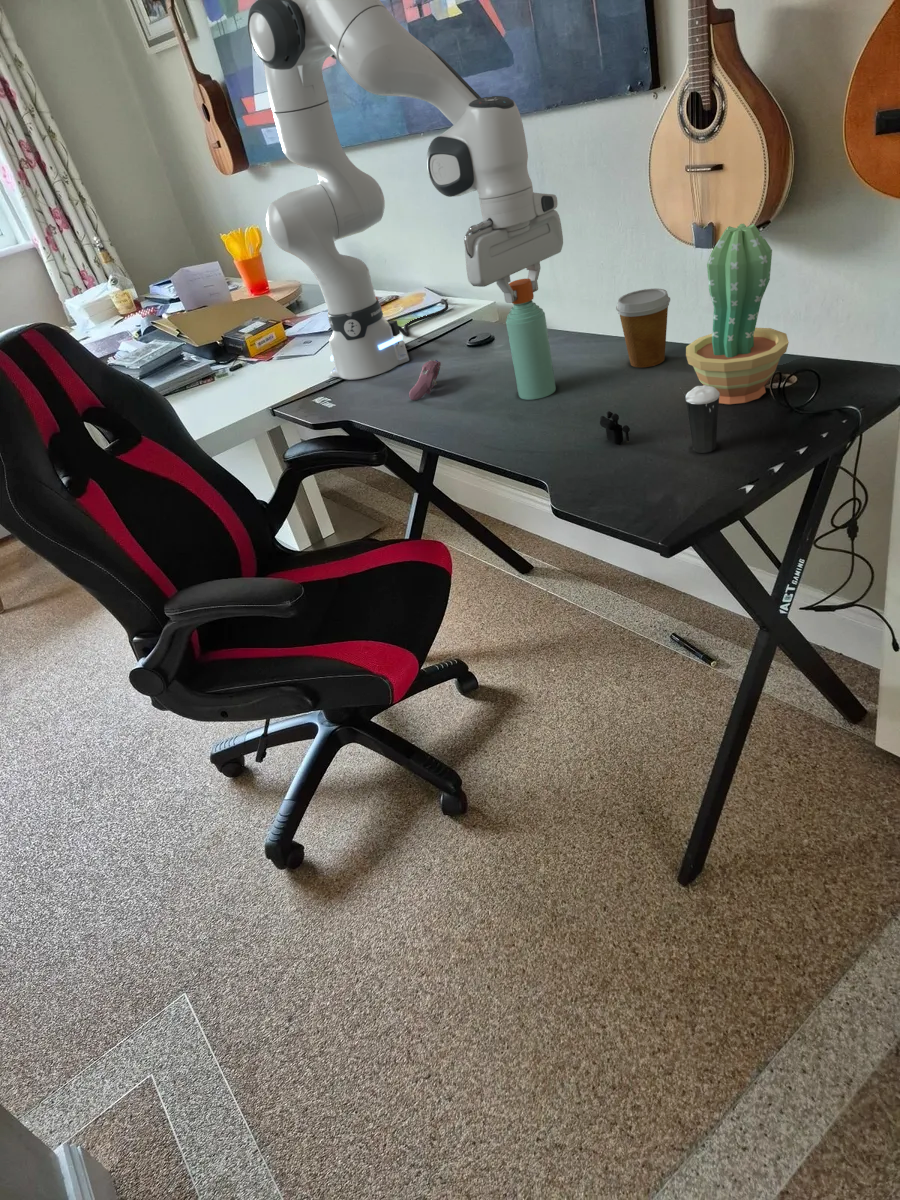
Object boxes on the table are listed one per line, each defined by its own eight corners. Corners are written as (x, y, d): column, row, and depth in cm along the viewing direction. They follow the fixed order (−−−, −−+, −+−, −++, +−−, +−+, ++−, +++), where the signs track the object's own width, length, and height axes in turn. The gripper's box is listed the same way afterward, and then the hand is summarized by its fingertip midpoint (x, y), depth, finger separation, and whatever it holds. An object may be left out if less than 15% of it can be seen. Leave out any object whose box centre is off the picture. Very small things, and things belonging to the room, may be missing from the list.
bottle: (513, 392, 148) (494, 287, 137) (547, 381, 149) (531, 276, 138) (526, 403, 142) (508, 294, 131) (561, 391, 143) (546, 282, 132)
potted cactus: (809, 384, 123) (817, 213, 109) (739, 420, 118) (738, 246, 104) (733, 368, 134) (731, 212, 121) (666, 400, 129) (656, 241, 116)
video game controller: (428, 407, 156) (436, 374, 151) (407, 400, 156) (414, 367, 151) (438, 388, 163) (446, 357, 159) (418, 381, 163) (425, 350, 159)
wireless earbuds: (633, 446, 118) (630, 415, 116) (620, 452, 118) (617, 421, 115) (605, 435, 124) (602, 405, 121) (593, 440, 123) (589, 410, 120)
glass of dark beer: (678, 447, 115) (674, 382, 109) (714, 438, 115) (712, 373, 109) (688, 459, 111) (685, 393, 106) (725, 450, 111) (724, 383, 105)
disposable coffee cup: (680, 351, 146) (677, 286, 140) (663, 371, 140) (658, 303, 134) (632, 352, 151) (627, 289, 145) (613, 371, 145) (607, 306, 139)
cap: (536, 299, 135) (534, 280, 133) (516, 305, 134) (513, 287, 133) (529, 295, 138) (526, 277, 136) (508, 301, 137) (505, 283, 136)
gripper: (475, 229, 121) (492, 318, 129) (563, 193, 130) (574, 278, 138) (449, 230, 126) (467, 315, 133) (536, 195, 135) (548, 277, 142)
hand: (522, 296), depth 136 cm, fingers closed on cap, 4 cm apart
